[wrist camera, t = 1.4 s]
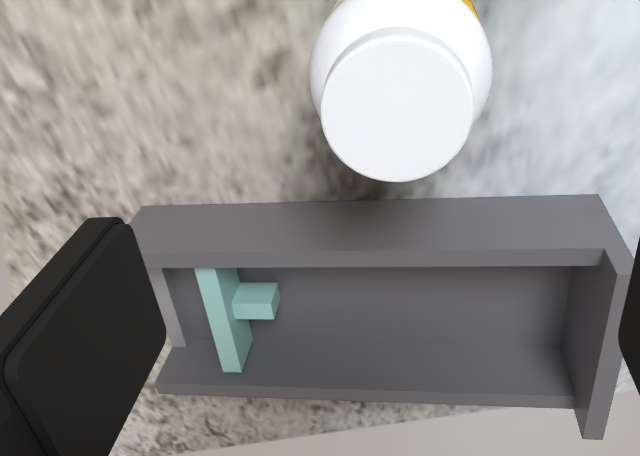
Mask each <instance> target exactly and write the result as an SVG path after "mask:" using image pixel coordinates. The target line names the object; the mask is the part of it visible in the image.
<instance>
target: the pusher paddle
mask: <svg viewBox="0 0 640 456" xmlns="http://www.w3.org/2000/svg"><path fill="white" fill-rule="evenodd" d="M194 270H195V274H196V277H197V281H198V284H199V288H200V291H201V295H202V298H203V302H204V306H205V309H206V313H207V316H208V320H209V323H210V327H211V330H212V334H213V338H214V341H215V345H216V348H217V352H218V355H219V359H220V362H221V366H222V370H223V372H238V373H242V370H243V367H244V364H245V361H246V358H247V355H248V352H249V349H250V346H251V343H252V340H253V336H252V332H251V328H250V323H249V319H274V318H275V314H276V311H277V308H278V305H279V301H280V292H279V287H278V283H240V280H239V276H238V271H237V268H194Z"/></svg>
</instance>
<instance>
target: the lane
mask: <svg viewBox="0 0 640 456" xmlns="http://www.w3.org/2000/svg"><path fill="white" fill-rule="evenodd" d="M128 225H130V226H131V227H132V229H133V231H134V234H135V237H136V240H137V243H138V246H139V249H140V252H141V254H142V257H143V260H144V263H145V266H146V269H147V272H148V275H149V278H150V281H151V284H152V287H153V290H154V293H155V296H156V299H157V302H158V305H159V308H160V311H161V314H162V316H163V319H164V322H165V325H166V328H167V331H168V334H169V337H170V340H171V343H172V346H173V347H172V349H171V351H170V353H169V355H168V357H167V359H166V361H165V363H164V365H163V367H162V369H161V371H160V373H159V376H158V378H157V380H156V382H155V385H156V388H157V390H158V393H159V394H176V395H204V396H232V397H259V398H287V399H315V400H343V401H370V402H398V403H426V404H454V405H482V406H509V407H537V408H566V409H574V411H575V415H576V418H577V422H578V425H579V428H580V432H581V435H582V438H583V439H594V440H602V439H603V436H604V432H605V428H606V424H607V420H608V415H609V411H610V407H611V403H612V399H613V395H614V391H615V387H616V382H617V378H618V374H619V370H620V366H621V362H622V358H623V355H622V353H621V350H620V347H619V342H618V330H619V325H620V321H621V317H622V312H623V308H624V303H625V299H626V295H627V290H628V286H629V282H630V277H631V273H632V268H633V264H634V258H633V256H632V254H631V253H630V251H629V249H628V247H627V245H626V244H625V242H624V240H623V238H622V236H621V235H620V233H619V231H618V229H617V227H616V225H615V224H614V222H613V220H612V218H611V216H610V215H609V213H608V211H607V209H606V207H605V206H604V204H603V202H602V200H601V198H600V197H599V195H598V194H594V195H555V196H516V197H478V198H439V199H400V200H362V201H323V202H285V203H246V204H207V205H169V206H143V207H142V208H141V209H140V210H139V212H138V213H137V214H136V216H135V217H134V218H133V219H132V221H131V222H130V223H129V224H128ZM194 268H237V271H238V276H239V280H240V283H278V287H279V292H280V301H279V305H278V308H277V311H276V314H275V318H274V319H249V323H250V328H251V332H252V336H253V340H252V343H251V346H250V349H249V352H248V355H247V358H246V361H245V364H244V367H243V370H242V373H238V372H223V370H222V366H221V362H220V359H219V355H218V352H217V348H216V345H215V341H214V338H213V334H212V330H211V327H210V323H209V320H208V316H207V313H206V309H205V306H204V302H203V298H202V295H201V291H200V288H199V284H198V281H197V277H196V274H195V270H194Z"/></svg>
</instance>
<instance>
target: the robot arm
mask: <svg viewBox="0 0 640 456" xmlns="http://www.w3.org/2000/svg"><path fill="white" fill-rule="evenodd" d="M165 340H166V326H165V323H164V320H163V317H162V314H161V311H160V308H159V305H158V302H157V299H156V296H155V293H154V290H153V287H152V284H151V281H150V278H149V275H148V272H147V269H146V266H145V263H144V260H143V257H142V254H141V252H140V249H139V246H138V243H137V240H136V237H135V234H134V231H133V229H132V227H131V226H130V225H128V224H125V223H124V222H123V220H122V219H121V218H119V217H99V218H89V219H87V220H86V221H85V222H84V223H83V224H82V225H81V226H80V227H79V229H78V230H77V231H76V232H75V233H74V234H73V235H72V236H71V238H70V239H69V240H68V241H67V242H66V243H65V244H64V245H63V246H62V248H61V249H60V250H59V251H58V252H57V253H56V254H55V255H54V256H53V258H52V259H51V260H50V261H49V262H48V263H47V264H46V265H45V267H44V268H43V269H42V270H41V271H40V272H39V273H38V274H37V275H36V277H35V278H34V279H33V280H32V281H31V282H30V283H29V284H28V285H27V287H26V288H25V289H24V290H23V291H22V292H21V293H20V294H19V296H18V297H17V298H16V299H15V300H14V301H13V302H12V303H11V304H10V306H9V307H8V308H7V309H6V310H5V311H4V312H3V313H2V315H1V316H0V456H108V455H109V453H110V451H111V449H112V447H113V445H114V443H115V441H116V439H117V437H118V435H119V433H120V431H121V429H122V427H123V425H124V423H125V421H126V419H127V417H128V415H129V413H130V411H131V409H132V407H133V406H134V404H135V402H136V400H137V398H138V396H139V394H140V392H141V390H142V388H143V386H144V384H145V382H146V380H147V378H148V376H149V374H150V372H151V370H152V368H153V366H154V364H155V362H156V360H157V358H158V356H159V354H160V352H161V350H162V348H163V346H164V344H165ZM618 342H619V347H620V350H621V353H622V355H623V358H624V360H625V362H626V364H627V367H628V369H629V371H630V374H631V376H632V378H633V381H634V383H635V385H636V388H637V390H638V392H639V394H640V238H639V242H638V247H637V251H636V255H635V260H634V264H633V268H632V273H631V277H630V282H629V286H628V290H627V295H626V299H625V303H624V308H623V312H622V317H621V321H620V325H619V330H618Z"/></svg>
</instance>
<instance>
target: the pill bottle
mask: <svg viewBox="0 0 640 456" xmlns="http://www.w3.org/2000/svg"><path fill="white" fill-rule="evenodd" d="M491 82H492V56H491V51H490V47H489V43H488V40H487V37H486V34H485V32H484V29H483V27H482V25H481V22H480V20H479V18H478V15H477V13H476V11H475V8H474V6H473V3H472V0H338V1H337V2H336V4H335V6H334V7H333V9H332V11H331V12H330V14H329V16H328V17H327V19H326V21H325V22H324V24H323V26H322V28H321V30H320V32H319V34H318V36H317V38H316V41H315V43H314V46H313V50H312V54H311V59H310V66H309V84H310V91H311V96H312V100H313V103H314V106H315V109H316V111H317V113H318V115H319V117H320V119H321V124H322V128H323V132H324V135H325V137H326V139H327V141H328V144H329V146H330V147H331V148H332V150H333V151H334V153H335V154H336V155H337V156H338V158H339V159H340V160H341V161H342V162H343V163H345V164H346V165H347V166H348V167H350V168H351V169H353V170H354V171H356V172H358V173H359V174H361V175H364V176H366V177H369V178H372V179H376V180H380V181H387V182H407V181H412V180H416V179H420V178H423V177H426V176H428V175H430V174H432V173H434V172H436V171H438V170H439V169H441V168H442V167H444V166H445V165H446V164H448V163H449V162H450V161H451V160H452V159H453V158H454V157H455V156H456V155H457V153H458V152H459V151H460V150H461V148H462V147H463V145H464V143H465V141H466V139H467V137H468V135H469V133H470V130H471V128H472V127H473V126H474V124H475V123H476V122H477V120H478V118H479V117H480V115H481V113H482V111H483V109H484V107H485V104H486V102H487V99H488V96H489V92H490V88H491Z"/></svg>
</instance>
